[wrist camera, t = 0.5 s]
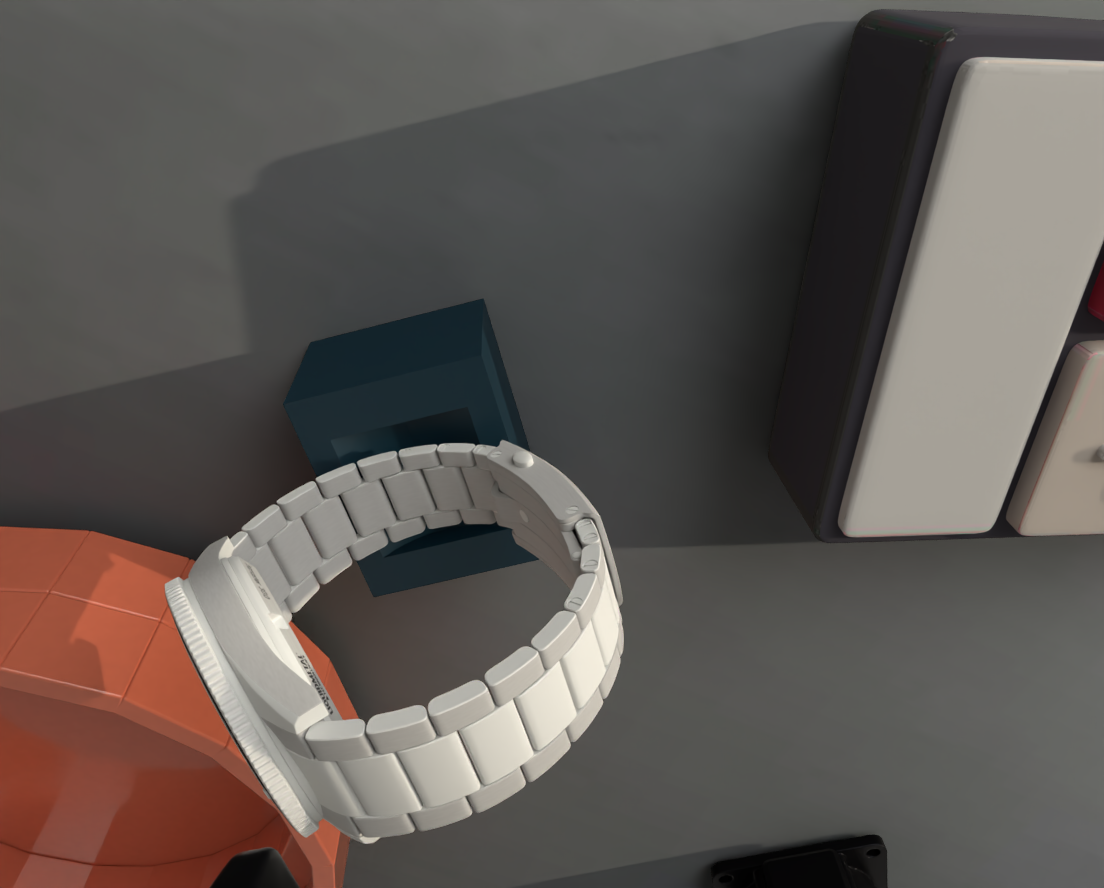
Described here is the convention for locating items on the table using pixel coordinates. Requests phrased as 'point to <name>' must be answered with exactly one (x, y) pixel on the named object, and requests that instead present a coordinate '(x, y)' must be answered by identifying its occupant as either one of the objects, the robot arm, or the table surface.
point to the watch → (403, 584)
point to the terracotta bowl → (124, 730)
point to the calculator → (954, 288)
